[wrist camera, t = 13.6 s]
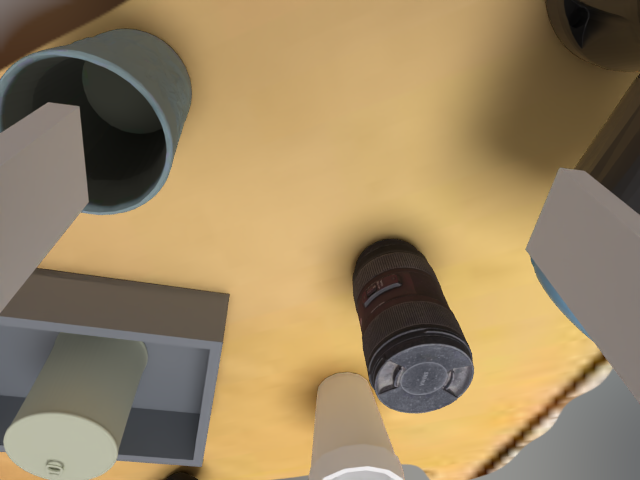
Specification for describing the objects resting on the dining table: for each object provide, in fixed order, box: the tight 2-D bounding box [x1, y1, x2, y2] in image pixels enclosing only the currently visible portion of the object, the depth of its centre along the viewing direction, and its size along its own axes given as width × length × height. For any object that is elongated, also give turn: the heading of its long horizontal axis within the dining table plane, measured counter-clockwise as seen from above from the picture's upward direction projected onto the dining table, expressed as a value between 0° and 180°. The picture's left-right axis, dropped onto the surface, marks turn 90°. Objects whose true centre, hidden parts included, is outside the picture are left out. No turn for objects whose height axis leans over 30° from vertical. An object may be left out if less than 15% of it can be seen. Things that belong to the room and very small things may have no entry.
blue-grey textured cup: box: [0, 29, 192, 215], centre depth 34 cm, size 10×10×12 cm
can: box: [3, 332, 148, 480], centre depth 47 cm, size 9×9×12 cm
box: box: [0, 268, 230, 467], centre depth 50 cm, size 24×18×7 cm
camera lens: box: [353, 239, 474, 413], centre depth 44 cm, size 8×8×15 cm
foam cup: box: [308, 372, 405, 480], centre depth 54 cm, size 10×9×13 cm
